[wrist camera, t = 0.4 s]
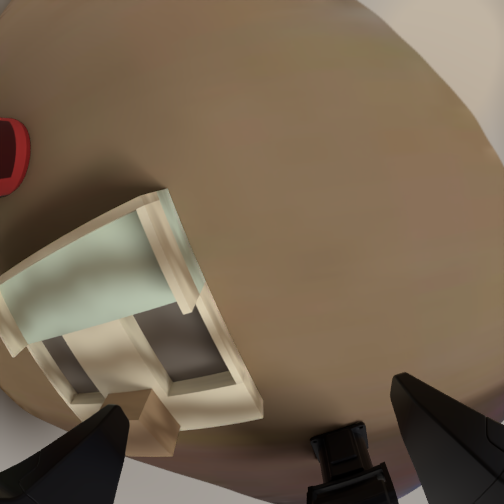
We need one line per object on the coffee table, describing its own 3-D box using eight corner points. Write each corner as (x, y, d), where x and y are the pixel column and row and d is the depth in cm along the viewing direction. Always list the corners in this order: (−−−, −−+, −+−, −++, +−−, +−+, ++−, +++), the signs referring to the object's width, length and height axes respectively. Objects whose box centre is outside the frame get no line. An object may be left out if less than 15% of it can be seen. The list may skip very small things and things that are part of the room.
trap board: (263, 400, 25) (263, 439, 20) (98, 420, 28) (84, 446, 23) (167, 188, 20) (140, 195, 15) (7, 274, 22) (-22, 291, 17)
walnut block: (180, 426, 24) (172, 456, 20) (137, 429, 24) (126, 455, 20) (152, 388, 22) (138, 419, 18) (108, 393, 23) (93, 420, 19)
